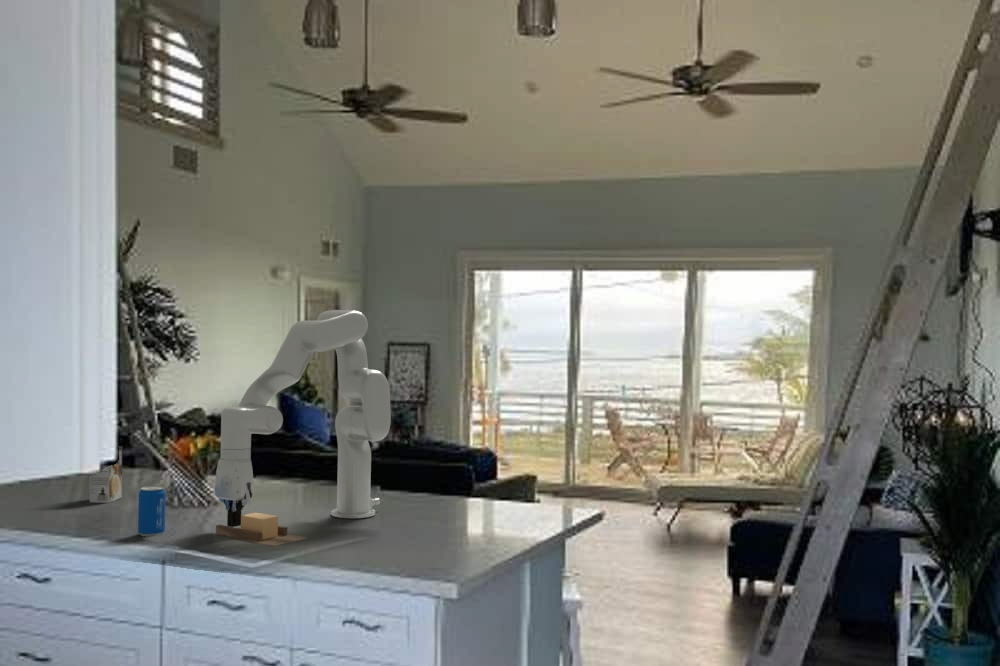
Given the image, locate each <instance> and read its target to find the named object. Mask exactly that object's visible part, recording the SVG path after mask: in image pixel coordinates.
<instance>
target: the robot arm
mask: <svg viewBox="0 0 1000 666" xmlns="http://www.w3.org/2000/svg"><path fill="white" fill-rule="evenodd" d="M368 329H369V322H368V319H367V317H366V316H365V314H363V312H361V311H359V310H353V309H352V310H351V309H345V310H343V309H334V310H333V309H331V310H325V311H323V312H321V313H319V315H318V317H317V319H316V320H300V321H297V322H295V323H294V324H293V325H292V326H291V328H290V329H289V331H288V333H287V335H286V336H285V339H284V340H283V342H282V344H281V346H280V348H279V349H278V352H277V354H276V355H275V358H274V359H273V362H272V363H271V365H270V366H269V367H268V368H267V369H265V371H263V372H262V373H261V374H260V375H259V376H258V378H256V379H255V380H254V381H253V382H252V383H251V384H250V385H249V387H248V388H247V389H246V390H245V393H244V394H243V397H242V398H241V400H240V402H239V404H238V406H228V407H227V406H226V407H224V408H223V409H222V410H221V416H220V417H221V419H220V420H221V422H220V451H219V453H220V458H219V459H218V462H217V465H216V470H215V471H216V472H215V479H214V480H215V481H214V495H215V497H216V498H218V500H219V501H220V502H221V503H223V504H224V505H225V510H226V511H227V515H226V518H227V519H226V521H227V523H226V524H227V525H226V526H229V527H234V528H236V527H239V526H240V527H241V515H242V511H243V510H244V508H245V506H248V505H251V503H252V502H251V499H252V498H253V497H254V473H253V471H254V470H253V465H252V463H253V462H252V459H251V456H252V455H251V453H252V451H251V448H252V434H258V435H272V434H275V433H276V432H278V431H279V430H280V429H281V427H282V426H283V422H284V418H283V414H282V413H281V411H280V410H279V409H278V408H276V407H274V406H270V405H267V404H269V401H270V400H271V399H272V398H273V397H274V396H276V395H277V393H280V391H282V390H284V389H286V388H288V387H289V388H290V387H291V386H293V385H294V384H296V383H297V382H299V381H300V379H301V378H302V376H303V374H304V373H305V370H306V368H307V366H308V364H309V362H310V360H311V359H312V357H313V354H314V353H315V352H316V353H317V352H319V353H320V352H321V353H323V352H324V353H325V352H329V351H333V350H335V352H336V356H337V357H336V359H337V374H338V375H337V376H338V377H337V378H338V391H339V395H340V396H341V398H343V399H344V400H346V401H350V402H355V403H357V402H358V403H361V404H362V405H354V404H353V405H347V406H344V407H343V408H341V409H340V410H339V411H338V412H337V414H336V416H335V421H334V428H335V434H336V441H337V478H336V479H337V484H336V485H337V486H336V490H337V491H336V493H337V494H336V508H334V509H332V510H331V511H330V514H331V516H332V517H334V518H338V519H339V518H340V519H365V518H371V517H373V516H375V515H376V510H375V509H374V508H373V506H377V505H380V503H381V499H380V498H379V497H375V498H373V497H371V481H372V480H371V478H372V477H371V476H372V475H371V474H372V473H371V472H372V451H371V445H370V442H380V441H382V440H383V439H385V438H386V437H387V436H388V434H389V432H390V428H391V417H392V416H391V395H390V385H389V381H388V379H387V377H386V375H385V374H384V373H383V372H382V371H379V370H376V369H372V368H371V369H369V362H368V355H367V354H368V352H367V348H366V345H365V342H364V340H363V338H364V337H365V335H366V334H367V333H368Z"/></svg>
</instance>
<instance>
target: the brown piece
mask: <svg viewBox="0 0 1000 666" xmlns="http://www.w3.org/2000/svg"><path fill="white" fill-rule="evenodd" d="M216 535H222V536H227V537H229V538H230V539H237V540H242V541H246V542H250V543H256V544H262V545H265V546H272V547H276V546H280V545H284V544H289V543H293V542H298V541H301V540H302V541H303V540H306V539H308V537H306V536H300V535H294V534H289V533H288V526H284V525H278V536H276V537H271V538H267V539H262V533H261V532H256V531H250V530H245V529H241V527H240V528H239V527H230V526H227V525H224V524H223V525H222V524H217V525H215V533H214V536H216Z"/></svg>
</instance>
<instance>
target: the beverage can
mask: <svg viewBox="0 0 1000 666" xmlns="http://www.w3.org/2000/svg"><path fill="white" fill-rule="evenodd" d="M166 497H167V496H166V491H165V487H164V486H160V485H156V486H155V485H152V486H151V485H149V486H143V487H141V488H140V491H139V492H138V510H137V511H138V513H137V514H138V515H137V516H138V517H137V518H138V520H137V521H138V522H137V526H138V527H137V533H138V534H139V535H140V536H141V537H144V536H145V537H146V538H151V537H156V536H160V535H161V536H162V535H163V533H165V532H166V530H165V529H166Z"/></svg>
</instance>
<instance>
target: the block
mask: <svg viewBox="0 0 1000 666" xmlns="http://www.w3.org/2000/svg"><path fill="white" fill-rule="evenodd" d="M278 526H279V516H278V515H273V514H272V515H271V514H268V513H262V512H261V513H260V512H252V513H247V514H241V525H240V528H241V529H245V530H250V531H256V532H261V533H262V539H267V538H271V537H276V536H278Z"/></svg>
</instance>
